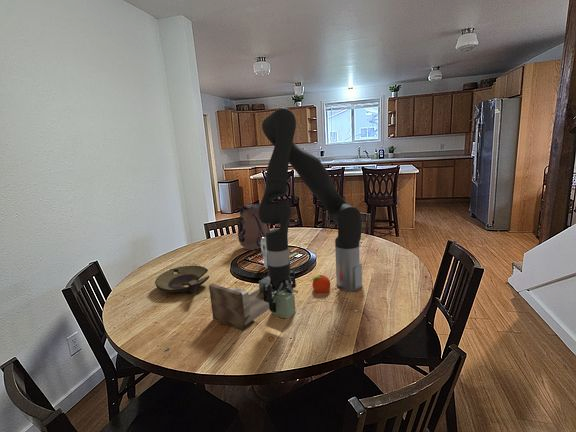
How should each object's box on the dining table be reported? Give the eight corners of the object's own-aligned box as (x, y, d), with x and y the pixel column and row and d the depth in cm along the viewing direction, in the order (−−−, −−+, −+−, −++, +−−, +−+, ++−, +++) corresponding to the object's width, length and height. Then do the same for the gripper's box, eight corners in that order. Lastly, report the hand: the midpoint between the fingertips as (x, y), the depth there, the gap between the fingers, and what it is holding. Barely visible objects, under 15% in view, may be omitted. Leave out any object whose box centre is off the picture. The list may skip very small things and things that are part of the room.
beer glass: (270, 272, 147) (268, 241, 143) (259, 269, 151) (256, 239, 148) (280, 267, 152) (277, 237, 149) (269, 264, 156) (266, 235, 153)
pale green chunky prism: (295, 315, 108) (294, 294, 106) (287, 322, 105) (286, 299, 103) (279, 310, 112) (278, 289, 110) (271, 316, 109) (269, 294, 107)
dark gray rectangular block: (289, 291, 124) (288, 280, 123) (279, 297, 119) (278, 286, 118) (269, 285, 130) (268, 275, 129) (259, 291, 125) (258, 281, 124)
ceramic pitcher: (235, 246, 189) (231, 205, 183) (268, 240, 197) (265, 200, 192) (244, 255, 173) (240, 210, 168) (279, 247, 182) (276, 204, 176)
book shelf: (296, 293, 124) (294, 262, 122) (242, 330, 101) (238, 294, 98) (269, 285, 133) (266, 257, 130) (213, 319, 109) (208, 285, 107)
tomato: (313, 298, 119) (312, 280, 118) (307, 290, 126) (306, 274, 124) (333, 294, 121) (332, 277, 120) (326, 287, 128) (325, 270, 126)
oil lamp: (209, 272, 152) (207, 257, 151) (211, 299, 124) (208, 281, 122) (160, 279, 147) (158, 264, 146) (150, 310, 119) (146, 291, 117)
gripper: (273, 270, 97) (276, 318, 100) (300, 256, 108) (302, 300, 111) (255, 266, 101) (259, 312, 105) (282, 253, 112) (285, 295, 116)
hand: (281, 306), depth 108 cm, fingers open, 8 cm apart
